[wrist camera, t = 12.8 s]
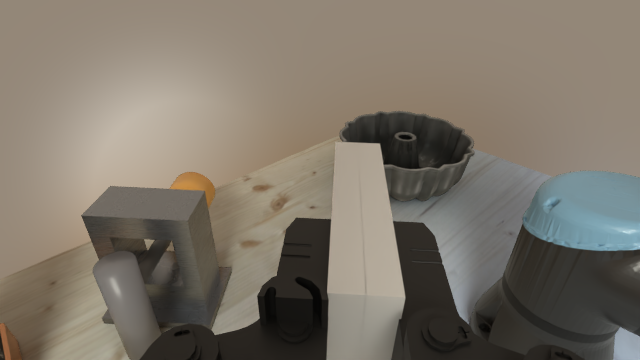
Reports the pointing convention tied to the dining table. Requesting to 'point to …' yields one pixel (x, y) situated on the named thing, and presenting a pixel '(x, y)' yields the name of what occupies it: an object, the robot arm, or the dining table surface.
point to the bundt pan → (414, 151)
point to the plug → (139, 281)
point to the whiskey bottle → (8, 345)
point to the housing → (174, 267)
